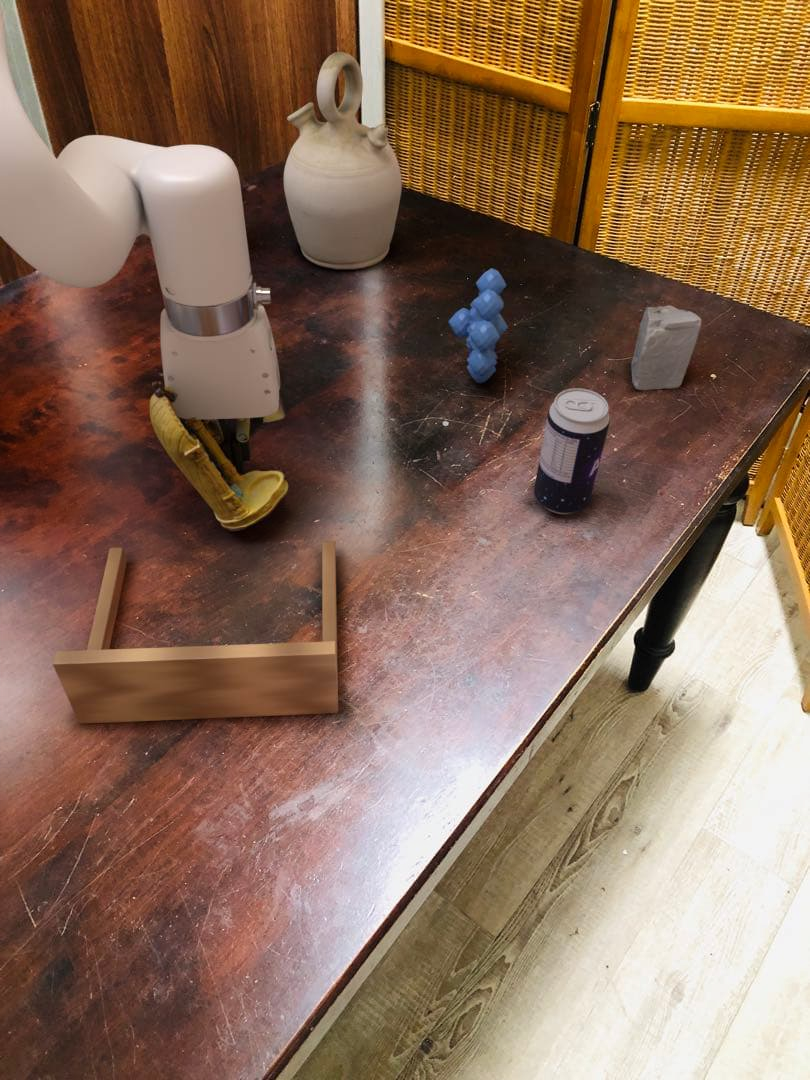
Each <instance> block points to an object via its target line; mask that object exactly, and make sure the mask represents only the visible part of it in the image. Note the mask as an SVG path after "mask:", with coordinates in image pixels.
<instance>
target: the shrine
mask: <svg viewBox="0 0 810 1080" xmlns="http://www.w3.org/2000/svg"><path fill="white" fill-rule="evenodd" d="M151 388H152V390H153V394H152V395H151V397H150V398H149V399H150V400H149V418H150V419H149V420H150V423H151V426H152V428H153V431H154V434H155V435H156V437H157V439H158V440H159V443H160V445H161V446H162V447H163V449H164V450H165V452H166V453H167V455H168V456H169V457H170V459H171V460H172V462H173V463H174V464H175V466H177V468H178V469H179V471H181V473H182V474H183V475H184V476H185V478H186V479H187V480H188V481H189V483H190V484H191V485H192V487H193V488H194V489H195V490H196V491H197V492H198V494H199V495H200V496H201V498H203V500H204V501H205V502H206V503H207V505H208V507H209V508H210V509H211V510H212V511H213V514H214V516H215V519H216V520H217V521H218V522H219V523H220V525H221V527H222V528H223V529H225V530H226V531H230V532H236V531H243V530H245V529H247V528H250V527H251V526H253V525H256V524H258V523H260V522H261V521H262V520H264V519H266V518H267V517H269V516H270V515H271V514H272V513H273V511H274V510H275V509H276V507H277V506H278V504H279V503H280V502H281V501H282V500H283V499H284V498H285V497H286V496H287V495H288V492H289V488H290V485H289V483H288V482H287V480H285V477H286V476H285V474H284V472H282V471H280V470H265V471H263V470H262V471H261V470H258V469H257V470H252V471H249V472H246V473H244V474H238V473H237V471H236V468H235V467H234V466H233V464H232V463H231V462H230V460H228V459H227V458H226V456H225V455H224V453H223V452H222V450H221V448H220V447H219V445H218V444H217V442H216V441H215V439H214V438H213V437H212V435H211V434H210V432H209V431H208V430H207V429H206V428H205V426H204V425H203V424H204V422H202V421H201V419H200V420H195V419H196V417H193V418H190V419H183V418H178V417H177V416H176V413H175V412H174V410H173V409H172V407H171V405H170V402H175V399H176V398H175V396H174V394H175V393H173V392H172V390H170V388H169V387H166V388H165V384H164V383H163V382H161V381H157V380H155V381H154V382H151ZM169 400H170V402H169Z"/></svg>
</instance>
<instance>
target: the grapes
mask: <svg viewBox="0 0 810 1080" xmlns="http://www.w3.org/2000/svg"><path fill="white" fill-rule="evenodd" d="M475 284H476V286H477V289H478V290H479V292H478V293H477V295H478V296H477V297H476V298H474V299H473V301H472V302H471V303H470V304H469V305H470V307H471V308H470V309H467V308H466V307H462V308H461V309H459V310H457V311H456V312H455V313H454V314H453V315H452V317H450V319H449V320H448V324H449V326H450V328H451V330H452V331H453V333H454V334H455V336H456V337H457V338H460V339H465V338H466V339H465V341H466V343H465V345H466V346H467V348H468V350H469V351H470V352H469V354H468V357H467V359H466V362H467V366H466V369H467V371H468V373H469V374H470V376H471V378H472V379H473V381H474V382H476V383H478V384H483V383H485V382H486V381H488V380H489V379H490V378H491V377H492V376H493V375H494V373H496V371H497V369H496V365H497V363H498V361H497V359H498V355H497V354H496V351H495V349H496V343H497V342H498V341H499V340H500V338H501V336H503V334H504V333H505V332H506V331H507V330H508V328H509V327H508V325H507V323H506V321H505V319H504V318H503V316H502V315H501V313H500V312H501V311H502V310H503V308H505V307H504V304H505V302H504V301H503V299H502V296H501V293H502V292H503V291H504V290H505V288H506V287H507V283H506V282H505V279H504V278H503V276H502V274H501V273H500V272H499V270H497V269H495V268H492V267H491V268H490V269H487V271H485V272H483V274H482V275H481V276H480V277H479V278H478V280H477V281H476V282H475Z"/></svg>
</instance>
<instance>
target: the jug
mask: <svg viewBox="0 0 810 1080" xmlns="http://www.w3.org/2000/svg"><path fill="white" fill-rule="evenodd" d="M341 71H342V72H343V76H344V94H343V98H342V101H341V103H340V105H339V106H338V107H337V105H336V100H335V99H336V98H335V90H336V84H337V80H338V77H339V74H340V72H341ZM363 79H364V78H363V74H362V70H361V67H360V64H359V63H358V61H357V60H356V58H354V56H352V55H351V54H349V53H348V52H343V51H335V52H333V53H331V54H330V55H329V56H328V57H327V58H326V59H325V60H324V62H323V63H322V65H321V67H320V70H319V73H318V77H317V82H316V100H317V105H318V108H319V111H320V113H321V114H322V116H323V118H325V120H327V121H326V122H322V121H319V120H318V119H317V116H316V112H315V104H314V103H313V102H308V103H307V104H305V105H304V106H302V107H300V108H299V109H297V110H296V111H295V112H293V113H291V114H290V115H288V116H287V118H286V120H287V122H289V123H290V124H292V125H293V126H294V127H295V128H297V129H298V131H299V136H298V138H297V140H296V141H295V142H294V144H293V145H292V147H291V148H290V151H289V153H288V155H287V159H286V162H285V165H284V171H283V189H284V195H285V201H286V203H287V209H288V213H289V216H290V221H291V223H292V226H293V229H294V232H295V236H296V239H297V243H298V244H299V247H300V250H301V253H302V255H303V256H304V258H305V259H306V260H308V261H309V262H311V263H313V264H314V265H317V266H319V267H322V268H326V269H331V270H339V271H340V270H347V271H348V270H359V269H360V270H361V269H365V268H368V267H372V266H374V265H377V264H379V263H380V262H381V261H383V260H384V259H385V258H386V256H387V255H388V253H389V251H390V244H391V242H392V239H393V236H394V232H395V227H396V222H397V218H398V212H399V208H400V202H401V196H402V187H403V183H402V174H401V168H400V165H399V162H398V159H397V156H396V153H395V152H394V149H393V147H392V146H391V145H390V143H389V138H388V134H389V128H388V126H387V125H386V124H385V123H380V124H378V125H376V126H375V127H369V126H367V125H366V124H365V125H364V124H363V123H359V122H358V120H357V117H356V114H357V113H358V110H359V109H360V106H361V103H362V98H363V91H364V80H363Z"/></svg>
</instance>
